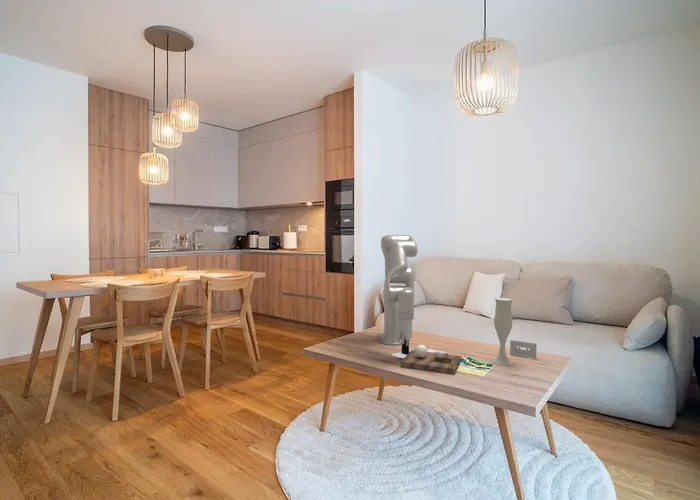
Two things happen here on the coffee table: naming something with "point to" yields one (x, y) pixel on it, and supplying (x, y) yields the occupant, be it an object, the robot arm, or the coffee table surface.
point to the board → (432, 362)
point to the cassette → (523, 353)
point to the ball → (421, 351)
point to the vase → (503, 327)
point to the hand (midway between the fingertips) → (405, 353)
